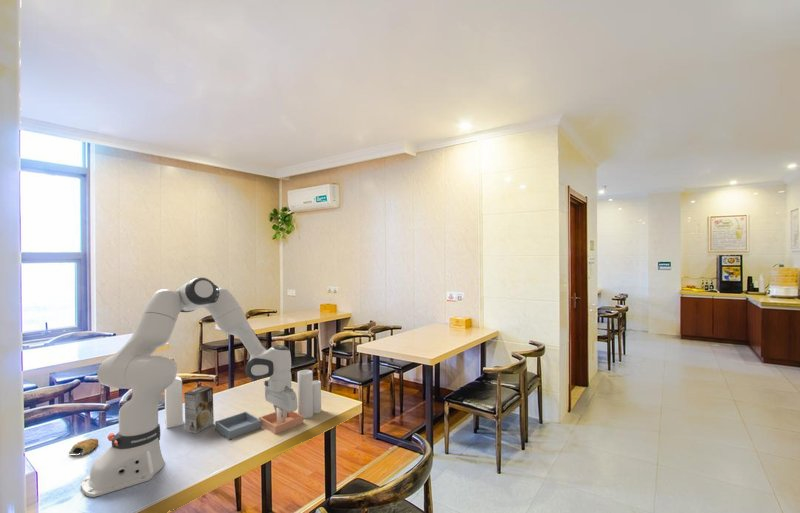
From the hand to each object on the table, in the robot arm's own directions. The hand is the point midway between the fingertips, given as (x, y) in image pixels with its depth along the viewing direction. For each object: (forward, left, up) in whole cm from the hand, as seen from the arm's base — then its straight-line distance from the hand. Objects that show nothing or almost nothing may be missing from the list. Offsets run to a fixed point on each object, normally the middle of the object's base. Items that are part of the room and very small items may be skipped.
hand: (281, 416), depth 164 cm
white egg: (0, 0, -3) cm, 3 cm away
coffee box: (-24, +24, -4) cm, 34 cm away
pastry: (-60, +37, -4) cm, 71 cm away
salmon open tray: (0, 0, -4) cm, 4 cm away
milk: (-30, +36, -4) cm, 47 cm away
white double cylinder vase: (+14, 0, -4) cm, 15 cm away
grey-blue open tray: (-14, +10, -4) cm, 18 cm away
